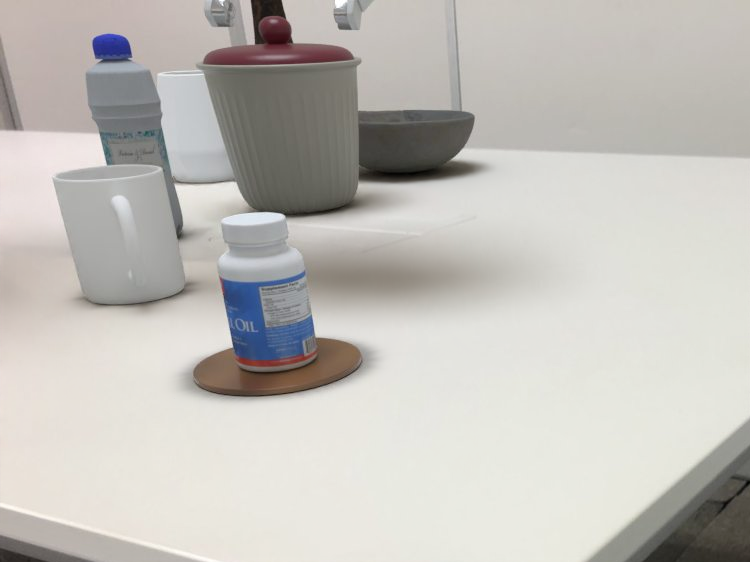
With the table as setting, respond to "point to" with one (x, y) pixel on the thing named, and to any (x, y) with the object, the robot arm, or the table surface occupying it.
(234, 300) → the pill bottle
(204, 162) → the cup
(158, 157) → the bottle
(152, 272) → the cup
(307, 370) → the coaster
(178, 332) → the table surface
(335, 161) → the canister
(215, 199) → the table surface
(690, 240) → the table surface
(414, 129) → the bowl
